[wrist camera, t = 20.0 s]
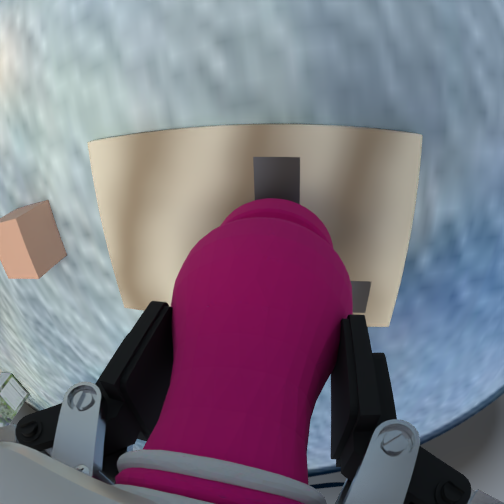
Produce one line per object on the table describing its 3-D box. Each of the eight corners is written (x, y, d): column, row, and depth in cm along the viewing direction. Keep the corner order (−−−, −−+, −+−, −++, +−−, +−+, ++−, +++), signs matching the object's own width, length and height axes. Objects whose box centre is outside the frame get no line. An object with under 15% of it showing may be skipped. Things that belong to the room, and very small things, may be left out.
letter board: (417, 133, 15) (422, 135, 14) (386, 319, 21) (388, 327, 20) (94, 140, 18) (87, 142, 17) (129, 301, 24) (124, 307, 23)
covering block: (49, 199, 21) (15, 218, 17) (67, 254, 23) (39, 278, 19) (17, 208, 22) (-13, 226, 18) (35, 256, 24) (8, 278, 20)
